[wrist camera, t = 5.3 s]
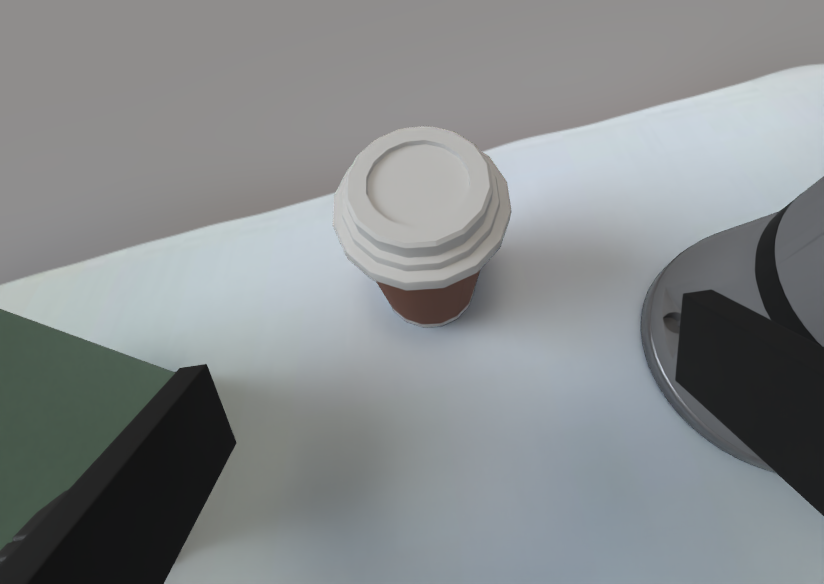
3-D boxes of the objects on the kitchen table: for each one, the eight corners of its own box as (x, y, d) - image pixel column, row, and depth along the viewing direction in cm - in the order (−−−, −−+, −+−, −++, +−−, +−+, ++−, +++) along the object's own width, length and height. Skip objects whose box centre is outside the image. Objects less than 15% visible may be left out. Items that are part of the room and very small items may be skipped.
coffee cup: (498, 237, 32) (522, 112, 21) (487, 354, 28) (509, 279, 17) (380, 226, 33) (345, 103, 22) (356, 337, 30) (299, 256, 19)
